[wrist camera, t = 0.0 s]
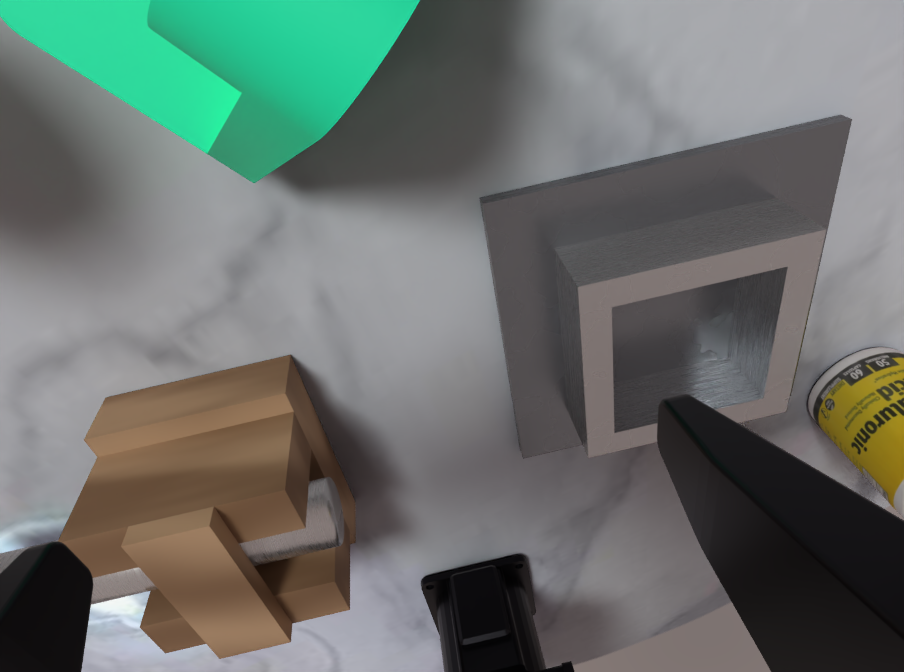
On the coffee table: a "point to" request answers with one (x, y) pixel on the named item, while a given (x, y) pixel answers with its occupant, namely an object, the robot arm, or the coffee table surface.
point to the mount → (213, 506)
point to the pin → (243, 544)
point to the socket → (661, 285)
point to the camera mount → (223, 64)
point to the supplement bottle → (867, 416)
